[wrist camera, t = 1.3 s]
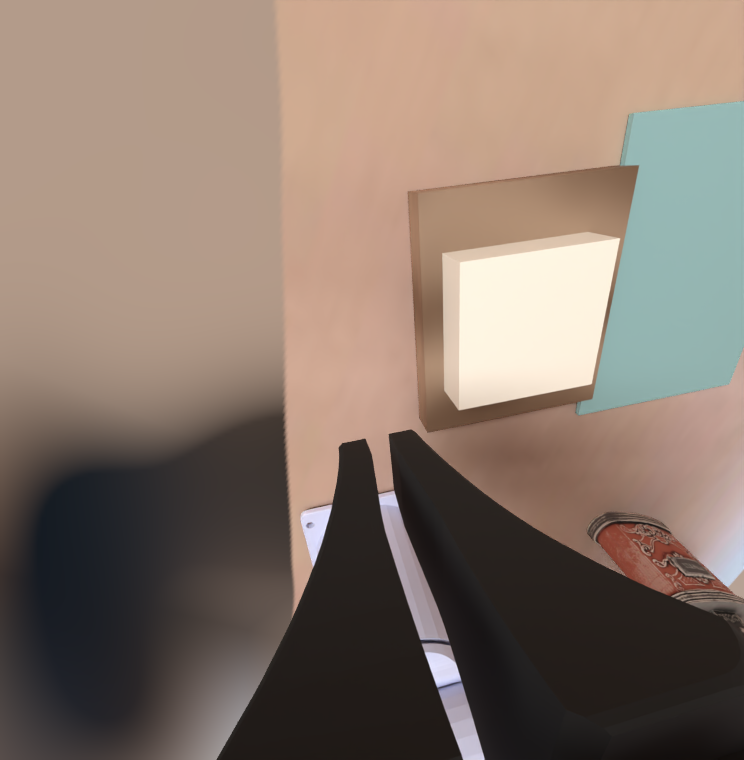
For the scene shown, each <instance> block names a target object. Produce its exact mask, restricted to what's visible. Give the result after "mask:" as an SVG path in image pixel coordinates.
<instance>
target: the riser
mask: <svg viewBox="0 0 744 760" xmlns="http://www.w3.org/2000/svg"><path fill="white" fill-rule="evenodd" d="M638 169H639V165H627V166H608V167H600V168H593V169H585V170H577V171H569V172H561V173H553V174H545V175H537V176H529V177H521V178H513V179H505V180H497V181H489V182H481V183H473V184H465V185H458V186H450V187H442V188H434V189H426V190H418V191H410V192H408V204H409V224H410V243H411V262H412V282H413V301H414V321H415V340H416V360H417V379H418V399H419V418H420V420H421V422H422V423H423V425H424V427H425V429H426V431H427V433H428V432H433V431H438V430H443V429H448V428H453V427H457V426H462V425H467V424H472V423H477V422H482V421H487V420H492V419H497V418H502V417H507V416H512V415H517V414H521V413H526V412H531V411H536V410H541V409H546V408H551V407H556V406H561V405H566V404H571V403H576V402H581V401H585V400H590V399H593V394H594V389H595V384H596V379H597V374H598V369H599V364H600V359H601V354H602V349H603V344H604V339H605V334H606V329H607V324H608V319H609V314H610V309H611V304H612V299H613V294H614V289H615V284H616V279H617V274H618V269H619V264H620V259H621V254H622V249H623V244H624V239H625V234H626V229H627V224H628V219H629V214H630V209H631V204H632V199H633V194H634V189H635V184H636V179H637V174H638ZM584 232H591V233H596V234H601V235H606V236H611V237H616V238H620V241H619V246H618V252H617V257H616V262H615V267H614V272H613V277H612V282H611V287H610V293H609V298H608V303H607V308H606V313H605V318H604V323H603V328H602V334H601V339H600V344H599V349H598V354H597V359H596V364H595V369H594V375H593V380H592V384H590V385H585V386H580V387H575V388H570V389H565V390H560V391H555V392H550V393H545V394H539V395H534V396H529V397H524V398H519V399H514V400H509V401H504V402H499V403H494V404H489V405H484V406H479V407H474V408H469V409H464V410H458V409H457V407H456V406H455V404H454V403H453V402H452V400H451V399H450V398H449V396H448V395H447V393H446V392H445V391H444V335H443V262H442V253H448V252H455V251H461V250H468V249H475V248H482V247H489V246H495V245H502V244H509V243H516V242H523V241H529V240H536V239H543V238H550V237H557V236H564V235H570V234H577V233H584Z"/></svg>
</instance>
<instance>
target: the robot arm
mask: <svg viewBox="0 0 744 760" xmlns="http://www.w3.org/2000/svg"><path fill="white" fill-rule="evenodd" d="M389 442H390V452H391V462H392V473H393V483H394V491H391V492H387V493H382V494H378V490H377V484H376V478H375V472H374V466H373V460H372V455H371V452H370V449H369V447H368V444H367V442H366V439H362V440H357V441H352V442H347V443H342V444H341V446H340V447H339V470H338V477H337V484H336V489H335V494H334V499H333V504H332V505H327V506H323V507H318V508H314V509H309V510H306V511H304V512H302V514H301V524H302V527H303V531H304V535H305V538H306V542H307V546H308V550H309V553H310V557H311V561H312V564H313V570H312V572H311V575H310V578H309V580H308V583H307V585H306V587H305V590H304V592H303V595H302V597H301V599H300V602H299V604H298V607H297V609H296V611H295V614H294V616H293V618H292V620H291V622H290V625H289V627H288V629H287V631H286V633H285V635H284V637H283V639H282V641H281V643H280V645H279V647H278V649H277V651H276V653H275V655H274V657H273V659H272V661H271V663H270V665H269V667H268V669H267V671H266V673H265V675H264V677H263V679H262V681H261V682H260V685H259V686H258V688H257V690H256V692H255V694H254V695H253V697H252V699H251V701H250V702H249V704H248V706H247V707H246V709H245V711H244V713H243V714H242V716H241V718H240V720H239V721H238V723H237V725H236V727H235V728H234V730H233V732H232V734H231V735H230V737H229V739H228V741H227V742H226V744H225V746H224V748H223V749H222V751H221V753H220V754H219V756H218V758H217V760H744V637H743V636H742V635H741V634H740V633H739V632H738V631H737V630H736V629H735V628H734V627H733V626H732V625H730V624H729V623H728V622H727V621H726V620H725V619H724V618H722V617H720V616H717V615H715V614H712V613H710V612H707V611H705V610H703V609H700V608H698V607H695V606H693V605H690V604H688V603H686V602H683V601H681V600H678V599H676V598H673V597H671V596H669V595H666V594H664V593H661V592H659V591H656V590H654V589H652V588H649V587H647V586H645V585H643V584H641V583H638V582H636V581H634V580H632V579H630V578H628V577H626V576H624V575H621V574H619V573H617V572H615V571H613V570H611V569H609V568H607V567H605V566H603V565H601V564H599V563H597V562H595V561H593V560H591V559H589V558H587V557H585V556H583V555H582V554H580V553H578V552H576V551H574V550H572V549H570V548H569V547H567V546H565V545H563V544H561V543H559V542H557V541H556V540H554V539H552V538H550V537H549V536H547V535H545V534H544V533H542V532H540V531H539V530H537V529H535V528H534V527H532V526H531V525H529V524H527V523H526V522H524V521H523V520H521V519H520V518H518V517H517V516H515V515H514V514H512V513H511V512H509V511H508V510H506V509H505V508H503V507H502V506H501V505H499V504H498V503H496V502H495V501H494V500H492V499H491V498H490V497H488V496H487V495H486V494H484V493H483V492H482V491H480V490H479V489H478V488H477V487H475V486H474V485H473V484H472V483H470V482H469V481H468V480H467V479H466V478H464V477H463V476H462V475H461V474H460V473H458V472H457V471H456V470H455V469H454V468H452V467H451V466H450V465H449V464H448V463H447V462H446V461H445V460H443V459H442V458H441V457H440V456H439V455H438V454H437V453H436V452H435V451H434V450H433V449H432V448H431V447H430V446H429V445H427V444H426V443H425V442H424V441H423V440H422V439H421V438H420V437H419V436H418V435H417V433H416V432H414V431H413V430H406V431H401V432H396V433H391V434H389ZM310 522H312V523H311V524H308V523H310Z"/></svg>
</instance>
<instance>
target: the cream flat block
mask: <svg viewBox="0 0 744 760" xmlns="http://www.w3.org/2000/svg"><path fill="white" fill-rule="evenodd" d="M619 241H620V238H616V237H611V236H606V235H601V234H596V233H591V232H584V233H577V234H570V235H564V236H557V237H550V238H543V239H536V240H529V241H523V242H516V243H509V244H502V245H495V246H489V247H482V248H475V249H468V250H461V251H455V252H448V253H442V262H443V335H444V391H445V392H446V393H447V395H448V396H449V398H450V399H451V400H452V402H453V403H454V404H455V406H456V407H457V409H458V410H464V409H469V408H474V407H479V406H484V405H489V404H494V403H499V402H504V401H509V400H514V399H519V398H524V397H529V396H534V395H539V394H545V393H550V392H555V391H560V390H565V389H570V388H575V387H580V386H585V385H590V384H592V380H593V375H594V369H595V364H596V359H597V354H598V349H599V344H600V339H601V334H602V328H603V323H604V318H605V313H606V308H607V303H608V298H609V293H610V287H611V282H612V277H613V272H614V267H615V262H616V257H617V252H618V246H619Z"/></svg>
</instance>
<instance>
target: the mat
mask: <svg viewBox="0 0 744 760" xmlns="http://www.w3.org/2000/svg"><path fill="white" fill-rule="evenodd" d="M627 165H639V169H638V174H637V179H636V184H635V189H634V194H633V199H632V204H631V209H630V214H629V219H628V224H627V229H626V234H625V239H624V244H623V249H622V254H621V259H620V264H619V269H618V274H617V279H616V284H615V289H614V294H613V299H612V304H611V309H610V314H609V319H608V324H607V329H606V334H605V339H604V344H603V349H602V354H601V359H600V364H599V369H598V374H597V379H596V384H595V389H594V394H593V399H590V400H585V401H581V402H577V408H576V414H577V415H583V414H588V413H593V412H598V411H602V410H607V409H612V408H617V407H622V406H627V405H631V404H636V403H641V402H646V401H651V400H655V399H660V398H665V397H670V396H675V395H680V394H684V393H689V392H694V391H699V390H704V389H708V388H713V387H718V386H723V385H728V384H729V383H730V381H731V378H732V376H733V373H734V371H735V368H736V365H737V363H738V360H739V358H740V355H741V353H742V350H743V347H744V101H741V102H732V103H723V104H713V105H704V106H695V107H686V108H677V109H667V110H658V111H649V112H640V113H632V114H629V118H628V124H627V129H626V135H625V140H624V146H623V151H622V157H621V162H620V166H627Z"/></svg>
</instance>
